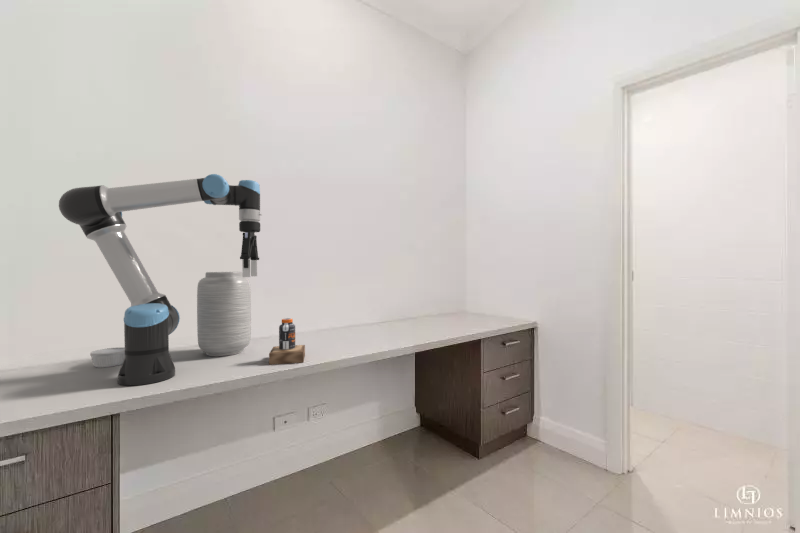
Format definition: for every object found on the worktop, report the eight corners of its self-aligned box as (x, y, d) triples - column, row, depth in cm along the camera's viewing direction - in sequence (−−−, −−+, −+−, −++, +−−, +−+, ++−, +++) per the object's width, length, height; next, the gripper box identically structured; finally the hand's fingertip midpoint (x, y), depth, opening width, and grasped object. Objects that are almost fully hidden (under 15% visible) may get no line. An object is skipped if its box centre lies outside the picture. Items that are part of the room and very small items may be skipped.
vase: (246, 345, 167) (245, 271, 167) (255, 353, 150) (255, 271, 150) (195, 351, 156) (194, 272, 156) (199, 361, 139) (198, 272, 139)
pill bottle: (290, 350, 136) (290, 320, 136) (276, 349, 137) (275, 319, 137) (298, 346, 142) (297, 317, 142) (284, 346, 143) (283, 317, 143)
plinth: (269, 364, 132) (269, 352, 132) (273, 356, 144) (273, 345, 144) (303, 362, 135) (303, 351, 135) (305, 354, 147) (304, 344, 147)
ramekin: (134, 359, 142) (133, 346, 142) (122, 366, 132) (121, 352, 132) (99, 362, 139) (99, 348, 139) (84, 370, 128) (84, 355, 128)
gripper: (254, 217, 129) (254, 277, 129) (265, 225, 154) (265, 275, 154) (231, 217, 128) (231, 277, 128) (246, 225, 152) (246, 276, 152)
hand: (250, 276), depth 141 cm, fingers open, 13 cm apart
